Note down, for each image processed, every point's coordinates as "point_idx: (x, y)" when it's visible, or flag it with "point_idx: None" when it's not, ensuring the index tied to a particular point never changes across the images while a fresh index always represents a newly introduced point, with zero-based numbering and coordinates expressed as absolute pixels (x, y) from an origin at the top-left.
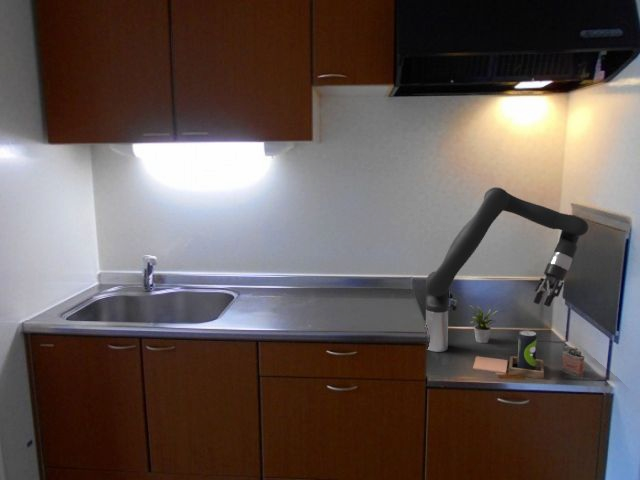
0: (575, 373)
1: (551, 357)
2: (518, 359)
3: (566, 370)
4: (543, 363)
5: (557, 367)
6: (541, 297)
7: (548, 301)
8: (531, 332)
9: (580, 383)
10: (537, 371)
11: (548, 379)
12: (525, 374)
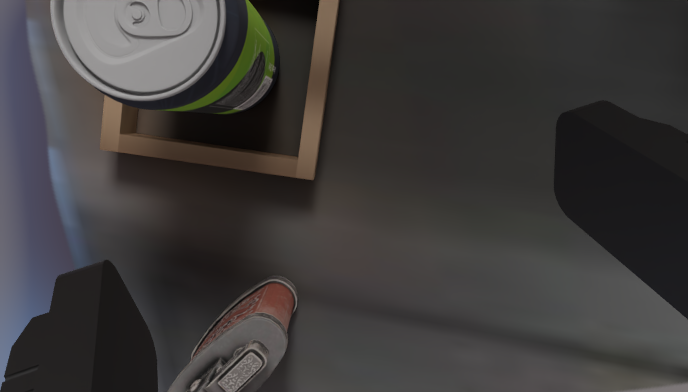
0: (204, 339)
1: (473, 251)
2: None
3: (243, 298)
4: (254, 171)
5: (315, 258)
6: (672, 294)
7: (14, 389)
8: (185, 59)
9: None
10: (107, 111)
11: (120, 174)
12: None
